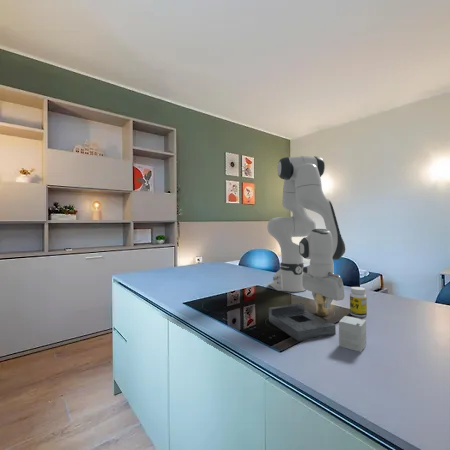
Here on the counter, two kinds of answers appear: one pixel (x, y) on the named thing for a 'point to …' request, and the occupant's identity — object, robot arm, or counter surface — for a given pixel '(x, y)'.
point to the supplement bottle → (358, 302)
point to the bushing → (321, 305)
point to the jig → (300, 322)
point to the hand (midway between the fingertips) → (322, 305)
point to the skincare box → (352, 333)
